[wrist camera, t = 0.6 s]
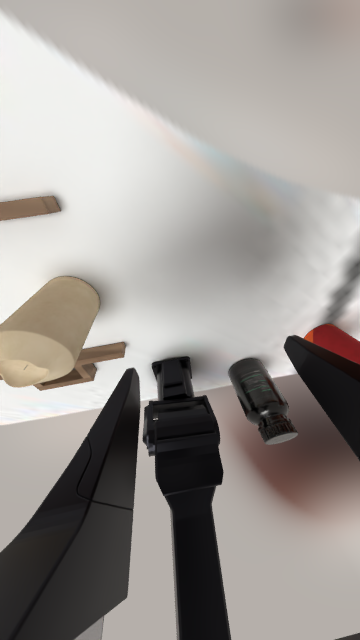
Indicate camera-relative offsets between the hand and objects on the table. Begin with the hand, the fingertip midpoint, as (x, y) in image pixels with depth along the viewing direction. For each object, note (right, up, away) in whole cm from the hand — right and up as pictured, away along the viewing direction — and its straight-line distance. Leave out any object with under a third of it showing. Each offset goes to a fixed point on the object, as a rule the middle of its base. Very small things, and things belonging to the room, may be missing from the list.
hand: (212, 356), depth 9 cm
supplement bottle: (+11, -7, +23) cm, 27 cm away
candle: (-14, +5, +9) cm, 17 cm away
